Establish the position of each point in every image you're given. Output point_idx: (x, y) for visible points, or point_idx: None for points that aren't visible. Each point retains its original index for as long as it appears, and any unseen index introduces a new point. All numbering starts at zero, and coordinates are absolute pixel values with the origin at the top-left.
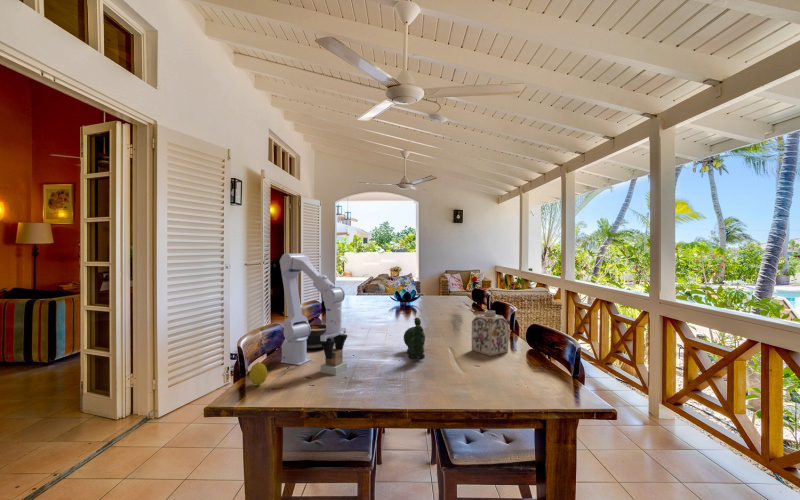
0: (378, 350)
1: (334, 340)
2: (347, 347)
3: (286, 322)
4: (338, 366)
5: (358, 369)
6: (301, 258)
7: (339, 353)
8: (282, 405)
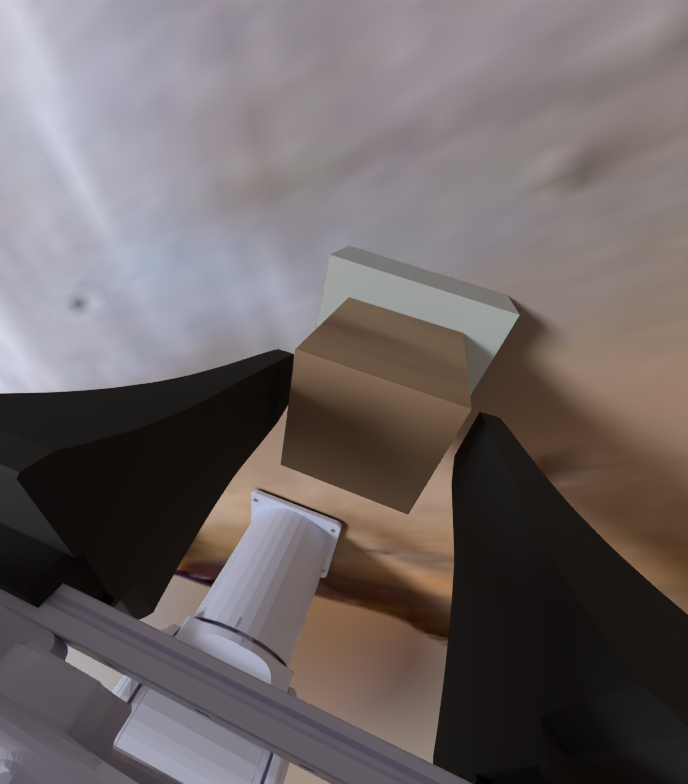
0: None
1: (196, 527)
2: (23, 372)
3: None
4: (460, 305)
5: (318, 119)
6: None
7: (376, 360)
8: None
